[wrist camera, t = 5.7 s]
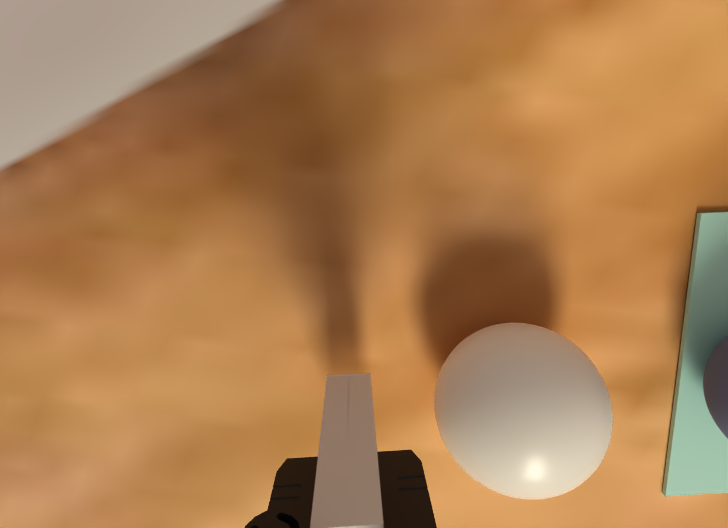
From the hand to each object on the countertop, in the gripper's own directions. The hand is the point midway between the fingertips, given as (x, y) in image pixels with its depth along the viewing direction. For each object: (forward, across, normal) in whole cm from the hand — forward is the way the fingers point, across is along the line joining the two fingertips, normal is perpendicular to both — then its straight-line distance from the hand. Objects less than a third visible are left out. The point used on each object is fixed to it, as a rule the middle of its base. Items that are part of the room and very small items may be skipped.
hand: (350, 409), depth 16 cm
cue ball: (-1, +6, 0) cm, 6 cm away
